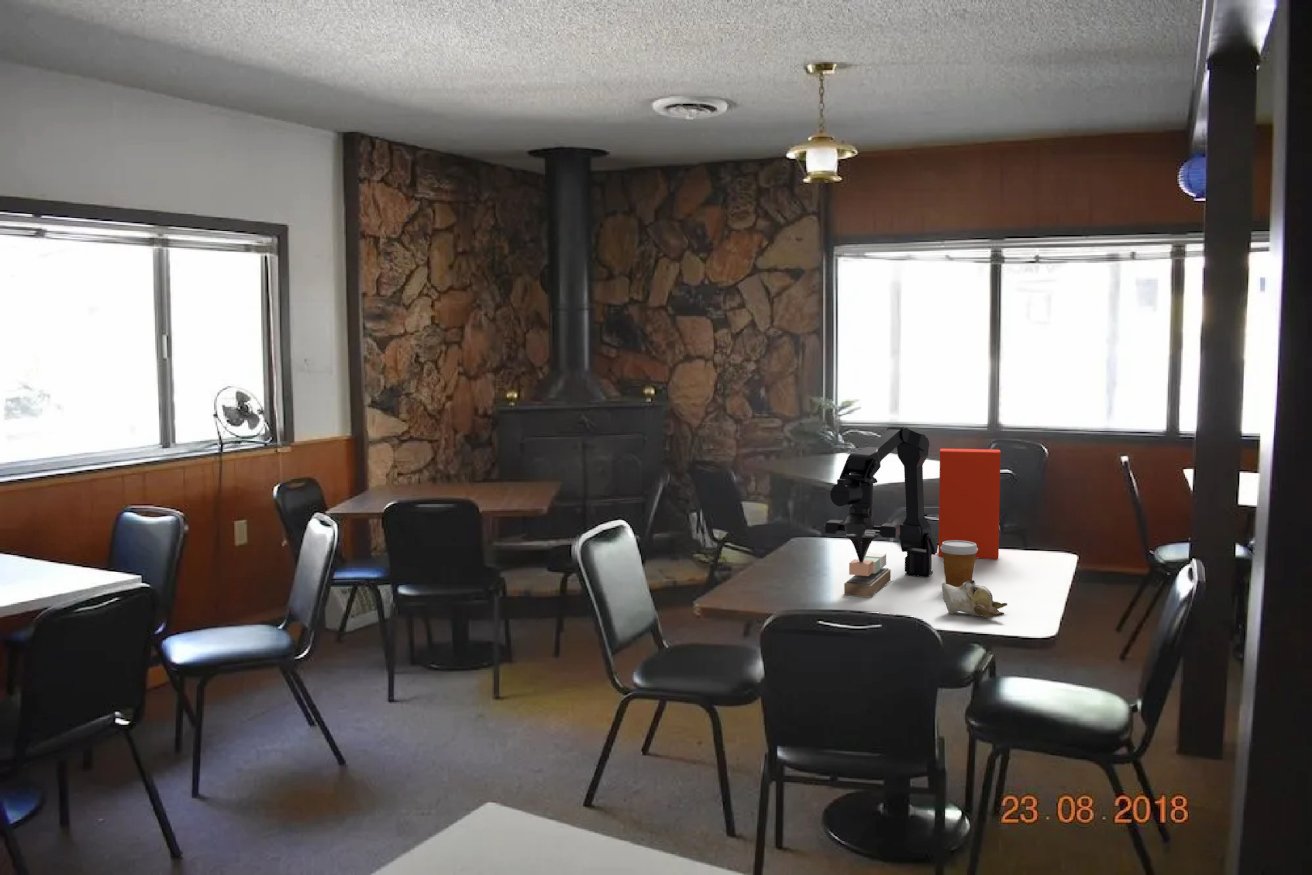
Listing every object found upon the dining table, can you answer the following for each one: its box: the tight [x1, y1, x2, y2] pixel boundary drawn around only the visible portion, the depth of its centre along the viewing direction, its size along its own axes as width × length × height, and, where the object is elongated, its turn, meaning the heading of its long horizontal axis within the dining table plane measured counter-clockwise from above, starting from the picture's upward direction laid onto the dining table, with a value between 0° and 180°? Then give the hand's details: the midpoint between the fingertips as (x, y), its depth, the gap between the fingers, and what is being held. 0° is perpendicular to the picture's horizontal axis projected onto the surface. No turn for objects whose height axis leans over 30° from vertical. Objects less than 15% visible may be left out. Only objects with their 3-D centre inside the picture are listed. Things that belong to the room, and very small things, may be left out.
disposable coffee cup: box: [940, 540, 978, 587], centre depth 282 cm, size 10×10×12 cm
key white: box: [865, 551, 887, 568], centre depth 291 cm, size 5×5×3 cm
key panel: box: [843, 567, 892, 598], centre depth 285 cm, size 7×21×3 cm, turn 154°
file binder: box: [937, 448, 1002, 560], centre depth 324 cm, size 8×17×32 cm, turn 74°
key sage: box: [857, 558, 880, 574], centre depth 285 cm, size 5×5×3 cm
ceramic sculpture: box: [941, 579, 1008, 618], centre depth 256 cm, size 11×9×15 cm
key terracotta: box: [848, 558, 873, 576], centre depth 278 cm, size 5×5×3 cm
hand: (861, 561), depth 278 cm, fingers closed
